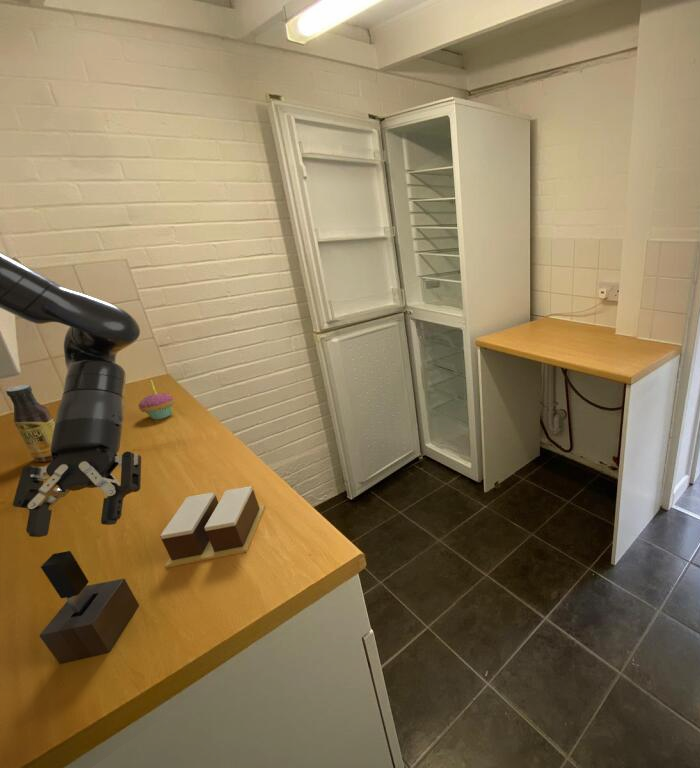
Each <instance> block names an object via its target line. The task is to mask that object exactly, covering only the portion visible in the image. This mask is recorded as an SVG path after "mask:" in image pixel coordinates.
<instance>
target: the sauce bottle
mask: <svg viewBox="0 0 700 768" xmlns="http://www.w3.org/2000/svg"><path fill="white" fill-rule="evenodd" d="M5 393H6V395H7V396H8V397H9V398H10V400H11V402H12V404H13V422H14V425H15V427H16V429H17V431H18V433H19V434H20V436H21V438H22V440H23V442H24V444H25V446H26V448H27V449H28V452H29V453H30V455H31V457H32V458H33V460H34V461H35V462H37V463H45V462H51V460H52V454H51V450H50V449H51V443H52V438H53V432H54V427H55V421H54V418H53V417H52V415H51V414H50V411H49V409H48V408H47V407H46V406H45V405H42V404H40V403H39V402H38V401H37V399H36V398H35V396H34V394H33V389H32V387H31V385H29V384H20V385H14V386H12V387H9V388H6V389H5Z"/></svg>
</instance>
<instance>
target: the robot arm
mask: <svg viewBox="0 0 700 768" xmlns="http://www.w3.org/2000/svg"><path fill="white" fill-rule="evenodd" d="M0 309H1V310H4V311H6V312H8V313H10V314H12V315H14V316H17V317H18V318H21V319H23V320H25V321H28V322H30V323H33V324H36V325H38V324H39V325H43V324H49V323H59V324H62V325H64V326H68V329H67V330H66V333H65V336H64V339H63V354H64V362H65V367H66V370H67V373H66V376H65V379H64V384H63V385H64V386H63V392H62V395H61V399H60V402H59V405H58V407H57V412H56V417H55V421H54V423H55V427H54V432H53V438H52V443H51V449H50V450H51V454H52V460H51V461H49V464H48V465H45V466H44V465H42V466H34V465H25V466H24V467H22V469H21V473H20V477H19V480H18V483H17V487H16V491H15V493H14V494H15V495H14V498H13V502H12V506H13V507H14V508H21V509H27V510H28V518H27V522H26V523H27V524H26V529H25V530H26V533H27V534H28V536H29V537H30V538H42V537H46V536H48V534H49V531H50V523H51V519H52V512H53V510H52V507H54V505H55V504H56V503H57V502H58V501H59V500H60V499H62V498H65V497H66V496H67V495H68V494H69V493H70V491H71V492H75V491H81V490H83V489H85V488H87V489H95V488H99V489H100V490H101V491H102V492H103V493H104V495H106V497H104V498H103V503H102V509H101V516H100V517H101V518H100V523H101V524H102V525H106V526H111V525H112V526H113V525H116V524H117V523H118V520H120V519H121V517H122V514H123V513H122V511H123V504H124V499H125V497H126V496H127V495H129V494H131V493H138V492H139V491H140V490H141V484H142V483H141V481H142V480H141V479H142V456H141V455H140V454H137V453H135V452H133V451H132V452H131V451H124V452H123V453H122V454H119V455H118V453H119V451H120V447H121V438H122V429H123V423H124V416H125V415H124V414H125V408H124V407H125V406H124V397H125V389H126V381H127V380H126V378H127V377H126V371H125V368H123V367H122V365H120V364H118V363H116V358H117V356H118V353H119V352H120V351H122V350H124V349H126V348H128V347H130V345H132V344H134V343H135V342H136V341H137V340H139V337H140V335H141V327H140V325H139V323H138V322H137V321H136V319H135V318H134V317H133V316H132V315H131V314H130V313H129V312H127V311H126V310H124V309H122V308H121V307H119V306H117V305H116V304H115V305H114V304H112V303H110V302H107V301H105V300H102V299H99V298H97V297H93V296H91V295H88V294H86V293H83V292H80V291H76V290H74V289H70V288H67V287H64V286H63V285H60V284H58V283H57V282H56V281H54V280H52V279H50V278H49V277H46V276H45V275H43V274H41V273H39V272H37V271H36V270H34V269H32V268H31V267H28V266H27V265H25V264H23V263H21V262H19V261H17V260H15V259H13V258H12V257H10V256H8V255H6V254H4V253H3V252H1V251H0ZM118 466H119V467H120V468H121V469H120V482H119V480H118V479H117V478H116V477H115V476H114V474H112V473H113V472H114V471H115V469H116V468H117V467H118ZM48 476H49V477H48ZM56 487H58V488H56Z"/></svg>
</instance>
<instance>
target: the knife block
mask: <svg viewBox="0 0 700 768" xmlns="http://www.w3.org/2000/svg"><path fill="white" fill-rule="evenodd" d="M87 586H88V588H89V589H90V591H91V593H92V594H93V596H94V598H95V599H94V600H93V601H92V603H91V604H90V605H89V607H88V608H87V609H86V611H85V612H84V613H83V615H81V616H76V614H75V613H74V611H73V610H72V608H71V606H70V605H69V603H68V602H67V601H65V603H64V604H63V606H62V607H61V608H60V609H59V610H58V611H57V613H56V614H55V615H54V617H53V618H52V619H51V620H50V621H49V622H48V624H47V625H46V626H45V627H44V629H43V630H42V631H41V632H40V634H39V635H38V636H39V637H40V639H41V640H42V642H43V643H44V645H45V646H46V647H47V648H48V650H49V652H50V653H51V654H52V656H53V657H54V658H55V660H56V661H57V662H58V664H59V665H61V664H66V663H70V662H73V661H78V660H83V659H87V658H91V657H96V656H100V655H104V654H107V653H110V652H111V651H112V650H113V648H114V646H115V644H116V643H117V641H118V640H119V638H120V636H121V635H122V633H124V630H125V629H126V627H127V626H128V624H129V622H130V621H131V619H132V617H134V614H135V613H136V611H137V609H138V608H139V606H140V604H139V602H138V600H137V599H136V596H135V595H134V594H133V592H132V590H131V589H132V588H130V586H129V584H128V582H127V580H126V579H125V578H120V579H115V580H108V581H104V582H99V583H94V584H89V585H88V584H87Z"/></svg>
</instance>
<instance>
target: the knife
mask: <svg viewBox="0 0 700 768" xmlns="http://www.w3.org/2000/svg"><path fill="white" fill-rule="evenodd" d="M40 569H41V570H42V572H43V573H44V575H45V576H46V578H47V579H48V581H49V582H50V584H51V585H52V587H53V588H54V590H55V591H56V593H57V595H58V596H59V597H60V599H65V598H66V599H65V600H66V602H68V603H69V605H70V606H71V608H72V610H73V611H74V613H75V614H76V616H81V615H83V613H84V612H85V611H86V609H87V608H88V607H89V605H90V604H91V603H92V601H93V600H94V599H95V598H94V596H93V594H92V593H91V591H90V589H89V588H88V583H89V579H88V577H87V576H86V574H85V572H84V571H83V570H82V568H81V567H80V564H79V563H78V561H77V559H76V558H75V556H74V554H73V553H72V551H71V550H67V551H61V552H57V553H56V552H55V553H53V554H51V556H50V557H48V558H47V560H45V561H44V563H43V564H42V565H41V566H40Z"/></svg>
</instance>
